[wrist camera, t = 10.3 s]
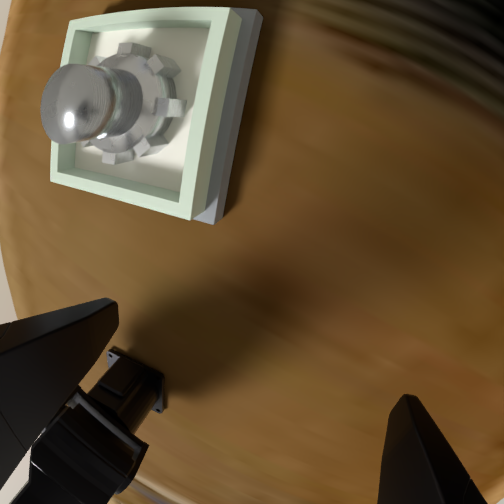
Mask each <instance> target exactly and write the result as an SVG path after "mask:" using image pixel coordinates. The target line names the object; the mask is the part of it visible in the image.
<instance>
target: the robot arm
mask: <svg viewBox="0 0 504 504" xmlns="http://www.w3.org/2000/svg"><path fill="white" fill-rule="evenodd" d="M118 325H119V314H118V304H117V302H116V301H114V300H111V299H109V298H102V299H98V300H94V301H90V302H86V303H82V304H79V305H75V306H71V307H67V308H63V309H59V310H55V311H51V312H48V313H44V314H40V315H36V316H32V317H28V318H24V319H20V320H17V321H13V322H11V323H10V322H9V323H5V324H1V325H0V490H1V489H2V487H3V486H4V484H5V483H6V481H7V480H8V478H9V477H10V475H11V474H12V473H13V471H14V470H15V468H16V467H17V466H18V464H19V463H20V461H21V460H22V458H23V457H24V456H25V454H26V453H27V451H28V450H29V449H30V447H31V446H32V447H31V456H30V468H29V480H28V481H27V482H26V484H25V485H24V486H23V487H22V488H21V490H20V491H19V492H18V493H17V494H16V496H15V497H14V498H13V500H12V501H11V502H10V503H9V504H107V503H108V501H109V500H110V498H111V497H112V496H113V495H114V494H119V493H121V492H122V491H124V490H125V489H126V488H127V486H128V485H129V484H130V483H131V482H132V480H133V479H134V477H135V475H136V473H137V471H138V469H139V467H140V464H141V462H142V460H143V458H144V456H145V453H146V451H147V449H148V447H149V445H148V444H147V443H145V442H143V441H141V440H140V439H139V438H138V437H136V436H135V435H134V434H135V432H136V431H137V429H138V428H139V427H140V425H141V424H142V422H143V421H144V419H145V418H146V416H147V415H148V413H149V412H150V411H151V410H153V411H155V412H157V413H162V412H163V411H164V376H163V374H162V373H160V372H158V371H155V370H153V369H151V368H149V367H147V366H145V365H142V364H140V363H138V362H136V361H134V360H132V359H130V358H128V357H126V356H124V355H122V354H120V353H118V352H116V351H114V350H112V349H109V350H108V351H107V360H108V367H109V369H108V370H107V371H106V372H105V374H104V375H103V376H102V377H101V378H100V379H99V380H98V382H97V383H96V384H95V385H94V387H93V388H92V389H91V390H90V391H89V392H88V393H87V394H86V393H85V392H84V391H83V390H82V389H81V387H80V386H79V385H78V384H79V383H80V382H81V380H82V379H83V378H84V376H85V375H86V374H87V373H88V371H89V370H90V369H91V368H92V366H93V365H94V364H95V362H96V361H97V359H98V358H99V356H100V355H101V353H102V352H103V350H104V349H105V347H106V345H107V344H108V342H109V341H110V339H111V338H112V336H113V335H114V333H115V332H116V330H117V328H118ZM67 405H68V406H67ZM40 434H41V436H40V437H39V438H38V436H39V435H40ZM37 438H38V439H37ZM36 439H37V440H36ZM35 440H36V441H35ZM33 443H34V444H33ZM32 444H33V445H32ZM377 504H488V503H487V502H486V501H485V499H484V498H483V496H482V495H481V493H480V491H479V490H478V488H477V487H476V485H475V484H474V482H473V480H472V479H470V476H469V474H468V473H467V471H466V469H465V468H464V466H463V465H462V463H461V461H460V460H459V458H458V457H457V455H456V454H455V452H454V451H453V449H452V448H451V446H450V444H449V443H448V441H447V440H446V438H445V437H444V435H443V434H442V432H441V431H440V429H439V428H438V426H437V425H436V423H435V422H434V420H433V419H432V417H431V416H430V415H429V413H428V412H427V410H426V409H425V407H424V406H423V404H422V403H421V401H420V400H419V399H418V397H417V396H415V395H410V394H404V395H402V397H401V398H400V399H399V401H398V402H397V404H396V405H395V406H394V408H393V409H392V410H391V412H390V415H389V419H388V425H387V432H386V438H385V444H384V449H383V455H382V462H381V472H380V484H379V493H378V502H377Z"/></svg>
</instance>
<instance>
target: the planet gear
mask: <svg viewBox="0 0 504 504" xmlns="http://www.w3.org/2000/svg"><path fill="white" fill-rule="evenodd" d="M150 53H151V47H147V46H144V45H140V44H137V43H133V42H128V43H119V46H118V51H117V54H115V55H112V56H110V57H102V56H95V57H94V58H93V59H92V60H91V61H90V63H89V64H88V65H82V64H66V65H64V66H62V67H60V68H59V69H58V70H56V71H55V72H54V73H53V75H52V76H51V77H50V79H49V80H48V82H47V84H46V86H45V89H44V92H43V95H42V100H41V120H42V124H43V127H44V130H45V132H46V134H47V135H48V137H49V138H50V139H51V140H52V141H54V142H55V143H58V144H70V143H75V142H81V144H82V146H83V147H89V146H95V147H96V148H98V149H99V150H101V151H103V155H102V163H107V164H112V165H116V164H120V163H124V162H128V161H133V160H134V153H135V152H136V154H137V155H138V157H143V156H148V155H153V154H158V153H159V152H160V151H161V150H162V149H164V148H165V147H166V146H167V145H168V144H169V143H168V141H167V140H166V138H165V137H164V135H163V134H164V133H165V132H166V130H167V129H168V127H169V126H170V123H171V121H172V119H173V117H184V115H185V109H186V104H187V100H180V99H177V94H176V87H175V83H174V80H173V78H174V77H175V76H176V75H177V74H179V73H180V72H181V69H180V68H179V66H178V65H177V64H176V62H175V61H174V59H171V58H168V57H165V56H161V55H158V54H155V55H153V56H152V57H151V58H149V57H150Z"/></svg>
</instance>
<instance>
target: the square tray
mask: <svg viewBox="0 0 504 504" xmlns="http://www.w3.org/2000/svg"><path fill="white" fill-rule="evenodd" d="M262 21H263V16H262V15H261V14H260V13H259V12H258V10H257V9H246V8H229V7H170V8H154V9H142V10H132V11H124V12H116V13H109V14H103V15H97V16H91V17H86V18H81V19H76V20H71V21H70V23H69V27H68V31H67V36H66V40H65V45H64V50H63V55H62V60H61V66H60V67H62V66H64V65H66V64H82V65H88V64H89V63H90V61H91V60H92V59H93V58H94V57H95V56H102V57H110V56H112V55H115V54H117V51H118V46H119V43H128V42H133V43H137V44H140V45H144V46H147V47H151V53H150V57H149V58H151V57H152V56H153V55H155V54H158V55H161V56H165V57H168V58H171V59H174V61H175V62H176V64H177V65H178V66H179V68H180V69H181V72H180V73H179V74H177V75H176V76H175V77H174V78H173V80H174V83H175V87H176V94H177V99H180V100H187V104H186V109H185V115H184V117H173V119H172V121H171V123H170V126H169V127H168V129H167V130H166V132H165V133H164V134H163V135H164V137H165V138H166V140H167V141H168V143H169V144H168V145H167V146H166V147H165V148H164V149H162V150H161V151H160V152H159V153H158V154H153V155H148V156H143V157H138V155H137V154H136V152H135V153H134V160H133V161H128V162H124V163H120V164H116V165H112V164H107V163H102V155H103V151H101V150H99V149H98V148H96V147H95V146H89V147H83V146H82V144H81V142H75V143H70V144H58V143H55V142H54V141H52V144H51V171H50V181H51V182H55V183H58V184H62V185H66V186H69V187H73V188H77V189H80V190H84V191H88V192H91V193H95V194H98V195H102V196H106V197H109V198H113V199H116V200H120V201H123V202H127V203H130V204H134V205H138V206H141V207H145V208H148V209H152V210H155V211H159V212H162V213H166V214H169V215H173V216H176V217H180V218H183V219H187V220H192V219H195V220H198V221H202V222H205V223H209V224H212V225H214V224H216V223H217V222H218V221H219V220H221V219H222V218H223V212H224V207H225V201H226V196H227V190H228V185H229V179H230V174H231V168H232V163H233V158H234V153H235V148H236V142H237V137H238V132H239V127H240V122H241V117H242V112H243V107H244V103H245V98H246V93H247V88H248V83H249V79H250V74H251V69H252V65H253V60H254V56H255V51H256V47H257V42H258V38H259V34H260V29H261V25H262Z"/></svg>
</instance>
